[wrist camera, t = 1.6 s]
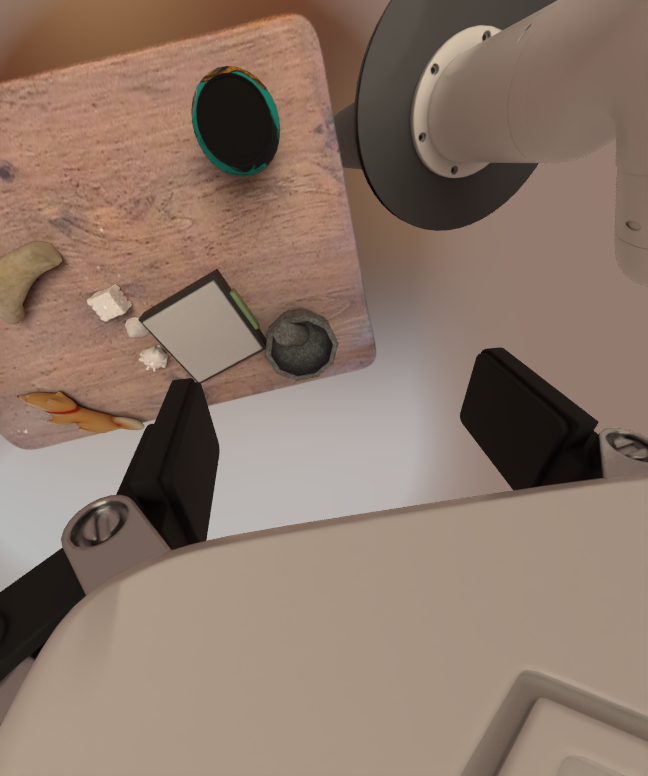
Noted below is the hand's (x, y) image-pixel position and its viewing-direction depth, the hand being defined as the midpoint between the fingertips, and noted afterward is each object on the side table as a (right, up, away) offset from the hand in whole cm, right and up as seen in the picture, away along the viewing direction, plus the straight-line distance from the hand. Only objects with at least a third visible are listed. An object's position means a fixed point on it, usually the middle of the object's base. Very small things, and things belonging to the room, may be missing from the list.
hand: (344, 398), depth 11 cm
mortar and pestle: (-5, +10, +37) cm, 39 cm away
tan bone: (-37, +14, +28) cm, 49 cm away
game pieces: (-27, +9, +34) cm, 44 cm away
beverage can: (-9, +28, +24) cm, 38 cm away
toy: (-39, -5, +40) cm, 56 cm away
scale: (-17, +9, +35) cm, 40 cm away
